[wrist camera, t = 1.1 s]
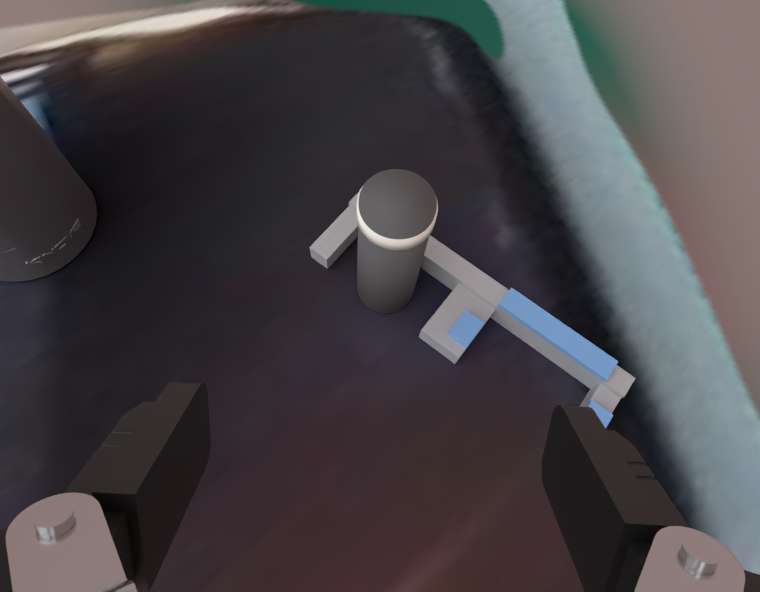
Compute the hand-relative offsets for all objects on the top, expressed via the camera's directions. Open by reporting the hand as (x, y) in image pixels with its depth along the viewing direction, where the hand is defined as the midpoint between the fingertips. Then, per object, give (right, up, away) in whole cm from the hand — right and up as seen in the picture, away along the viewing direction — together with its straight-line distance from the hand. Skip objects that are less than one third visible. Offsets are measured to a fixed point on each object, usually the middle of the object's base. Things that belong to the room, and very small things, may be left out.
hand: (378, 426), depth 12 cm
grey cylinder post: (0, +4, +25) cm, 25 cm away
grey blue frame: (+6, +1, +24) cm, 25 cm away
